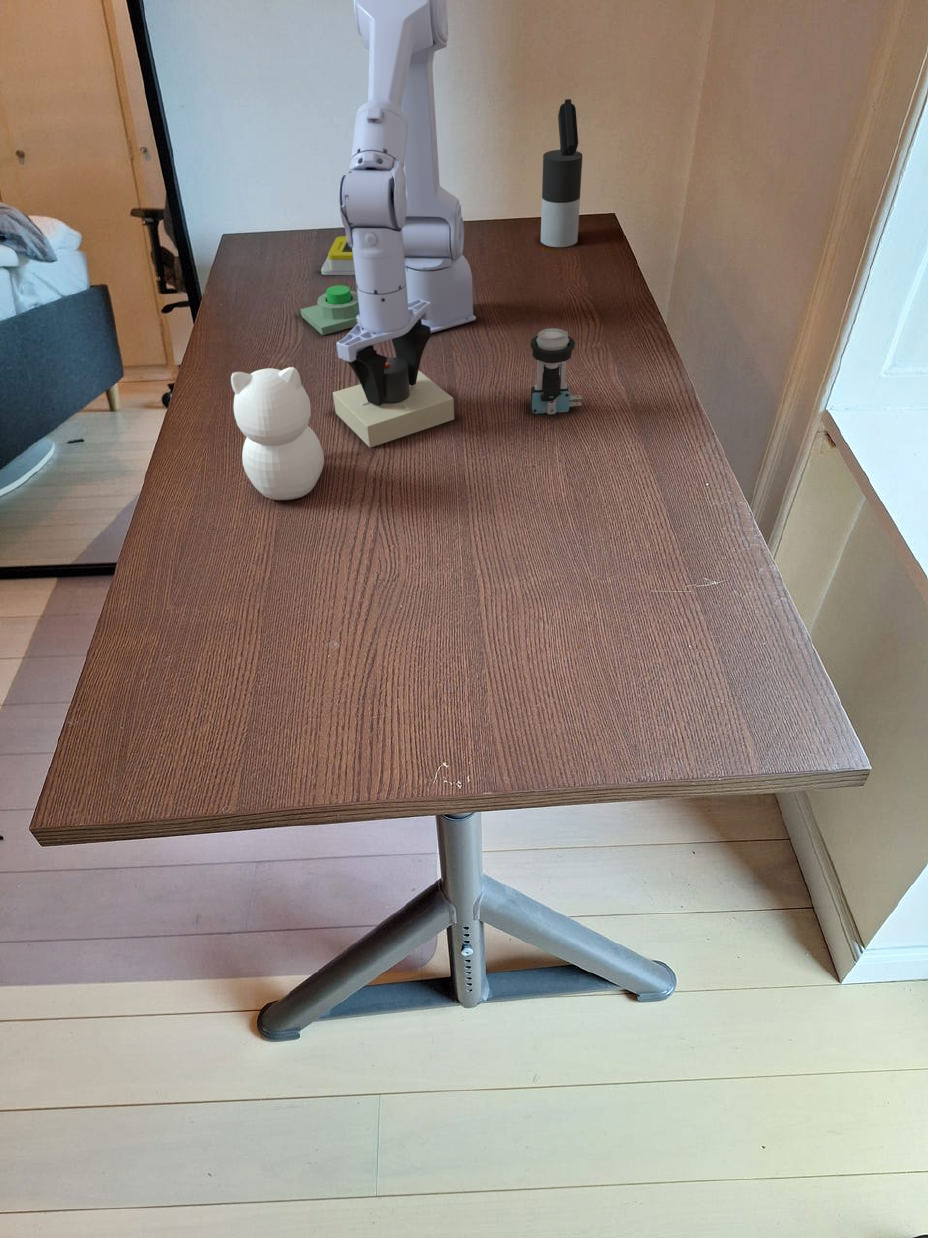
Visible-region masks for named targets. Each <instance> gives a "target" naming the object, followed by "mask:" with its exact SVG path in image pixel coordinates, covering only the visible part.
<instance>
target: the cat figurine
mask: <svg viewBox="0 0 928 1238" xmlns="http://www.w3.org/2000/svg"><path fill="white" fill-rule="evenodd" d="M230 384H231V388H232V391H233V392H234V397H233V406H232V407H233V417H234V418H235V423H236V425H237V427H238V428H239V430H240V432H241V433H242V435H244V436H245V440H244V443H243V446H242V451H241V452H242V455H241V457H242V466H243V469H244V472H245V475H246V476H247V478H248V480H249V481H250V483H251V484H252V485H253V487H254V488H255V489H256V490H257V491H258V492H259V493H260V494H261V495H262V496H263V497H265V498H267V499H270V500H274V501H289V500H290V501H291V500H294V499H299V498H303V497H305V496H306V495H308V494H309V493H310V492H311V491H312V490H313V489H314V487H315V486H316V485H317V482H318V480H319V478H320V476H321V474H322V472H323V469H324V464H325V454H324V450H323V447H322V445H321V442H320V440H319V438H318V436H317V434H316V433H315V432H314V430H313V429H312V428H311V427H310V425H309V423H310V419H311V414H312V413H311V401H310V397H309V395H308V393H307V391H306V390H305V388H304V386H303V385H302V381H301V375H300V373H299V371H298V370H297V368H295V367H294V366H289V367H285V368H283V369H282V370H281V369H278V368H273V367H270V368H268V367H267V368H262V369H258V370H255V371H252V372H251V373H247V372H243V371H234V372H232V373H231V375H230Z"/></svg>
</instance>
